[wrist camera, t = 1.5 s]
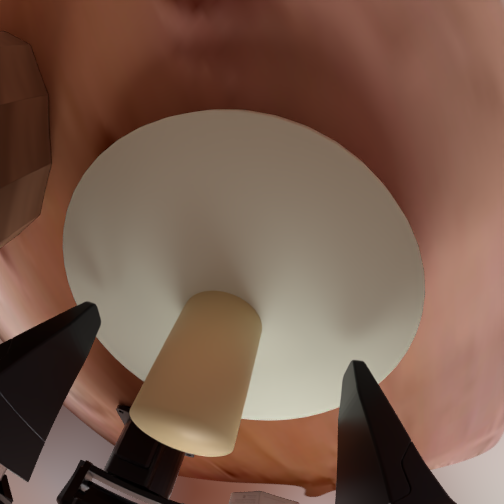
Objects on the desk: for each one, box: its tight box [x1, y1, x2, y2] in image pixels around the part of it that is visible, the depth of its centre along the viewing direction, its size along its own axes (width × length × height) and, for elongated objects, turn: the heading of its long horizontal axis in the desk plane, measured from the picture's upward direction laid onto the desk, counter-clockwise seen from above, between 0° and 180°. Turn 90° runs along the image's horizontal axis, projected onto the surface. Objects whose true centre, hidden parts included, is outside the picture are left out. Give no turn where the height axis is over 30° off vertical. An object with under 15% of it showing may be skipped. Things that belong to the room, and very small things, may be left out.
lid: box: [63, 109, 425, 457], centre depth 9 cm, size 14×14×7 cm
